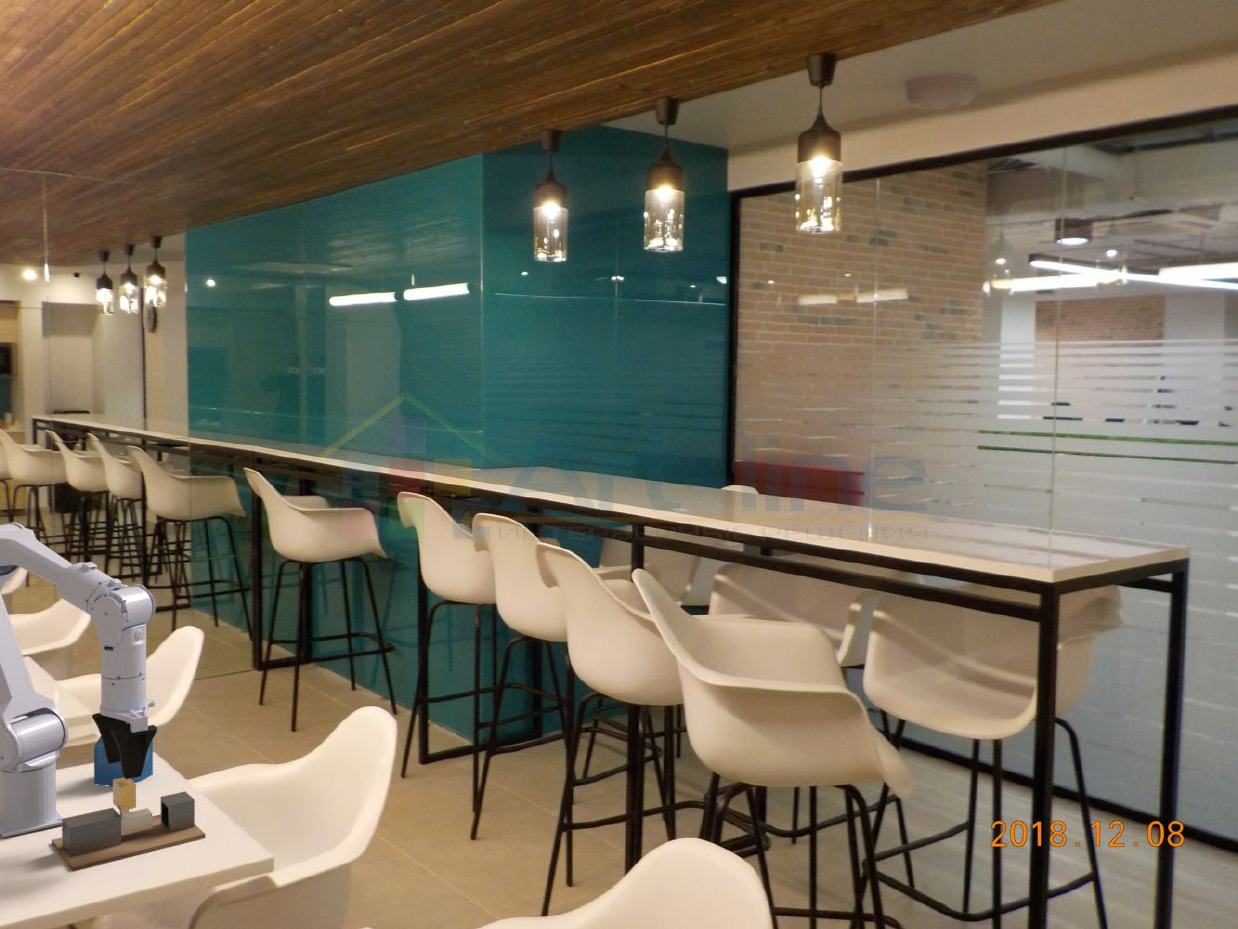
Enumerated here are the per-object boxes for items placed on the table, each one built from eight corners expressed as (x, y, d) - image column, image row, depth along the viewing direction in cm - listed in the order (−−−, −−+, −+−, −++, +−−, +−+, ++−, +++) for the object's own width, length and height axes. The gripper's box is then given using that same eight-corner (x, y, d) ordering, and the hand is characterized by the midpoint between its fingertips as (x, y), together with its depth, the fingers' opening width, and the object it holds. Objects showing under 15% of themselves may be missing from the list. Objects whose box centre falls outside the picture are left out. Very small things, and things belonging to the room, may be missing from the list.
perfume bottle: (128, 788, 167) (127, 714, 167) (94, 784, 169) (93, 711, 168) (152, 775, 173) (152, 703, 173) (119, 771, 175) (119, 700, 174)
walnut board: (52, 843, 147) (51, 839, 147) (179, 813, 158) (179, 810, 158) (72, 871, 138) (72, 867, 138) (205, 837, 150) (205, 834, 150)
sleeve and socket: (62, 847, 144) (62, 818, 144) (185, 818, 155) (185, 791, 155) (69, 857, 141) (69, 828, 141) (194, 826, 152) (194, 799, 152)
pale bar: (69, 839, 145) (69, 788, 144) (145, 821, 151) (145, 772, 151) (76, 848, 142) (76, 796, 141) (153, 829, 148) (153, 780, 148)
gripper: (170, 680, 143) (171, 777, 144) (137, 659, 154) (138, 749, 155) (115, 689, 139) (116, 789, 140) (85, 666, 150) (86, 759, 150)
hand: (124, 769), depth 147 cm, fingers open, 7 cm apart
